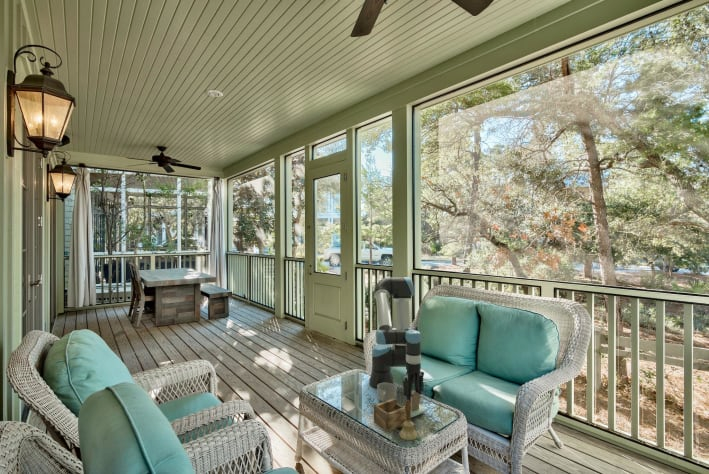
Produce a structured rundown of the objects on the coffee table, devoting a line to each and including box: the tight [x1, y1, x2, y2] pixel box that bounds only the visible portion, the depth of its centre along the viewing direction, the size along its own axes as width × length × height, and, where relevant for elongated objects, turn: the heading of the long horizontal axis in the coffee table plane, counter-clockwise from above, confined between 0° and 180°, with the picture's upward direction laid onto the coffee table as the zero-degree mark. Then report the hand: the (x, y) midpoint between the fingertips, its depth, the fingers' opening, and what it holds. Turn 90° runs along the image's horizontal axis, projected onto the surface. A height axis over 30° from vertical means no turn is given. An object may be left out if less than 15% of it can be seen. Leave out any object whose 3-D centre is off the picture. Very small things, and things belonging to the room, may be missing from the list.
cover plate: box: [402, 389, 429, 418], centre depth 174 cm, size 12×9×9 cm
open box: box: [373, 397, 412, 432], centre depth 167 cm, size 14×11×8 cm
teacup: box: [376, 382, 398, 403], centre depth 186 cm, size 14×11×8 cm
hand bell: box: [398, 399, 418, 441], centre depth 156 cm, size 8×8×16 cm
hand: (413, 407), depth 174 cm, fingers closed on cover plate, 4 cm apart
